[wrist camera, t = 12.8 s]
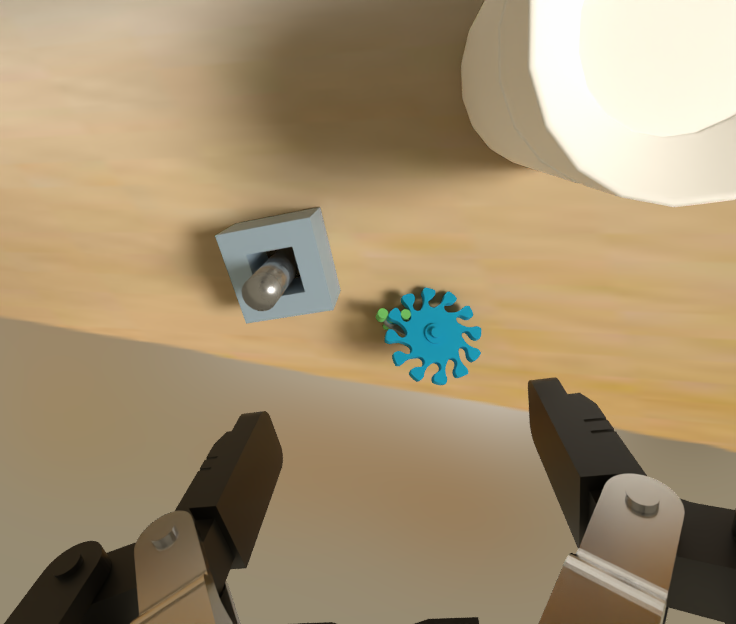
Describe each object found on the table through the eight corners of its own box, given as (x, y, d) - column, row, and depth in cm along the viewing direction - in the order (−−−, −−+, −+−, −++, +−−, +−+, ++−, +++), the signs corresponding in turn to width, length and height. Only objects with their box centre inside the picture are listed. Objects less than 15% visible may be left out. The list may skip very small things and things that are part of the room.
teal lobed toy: (498, 313, 41) (464, 401, 38) (475, 329, 47) (444, 408, 43) (402, 264, 42) (359, 348, 38) (390, 286, 47) (352, 361, 44)
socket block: (235, 223, 41) (214, 235, 37) (320, 206, 40) (309, 217, 35) (262, 303, 45) (246, 323, 40) (340, 290, 43) (333, 309, 39)
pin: (272, 247, 42) (236, 280, 33) (299, 242, 41) (271, 274, 32) (280, 274, 43) (248, 313, 34) (307, 269, 43) (281, 308, 34)
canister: (665, 135, 35) (948, 143, 17) (480, 190, 38) (551, 247, 20) (660, -98, 29) (1094, -472, 11) (441, -10, 32) (493, -189, 14)
